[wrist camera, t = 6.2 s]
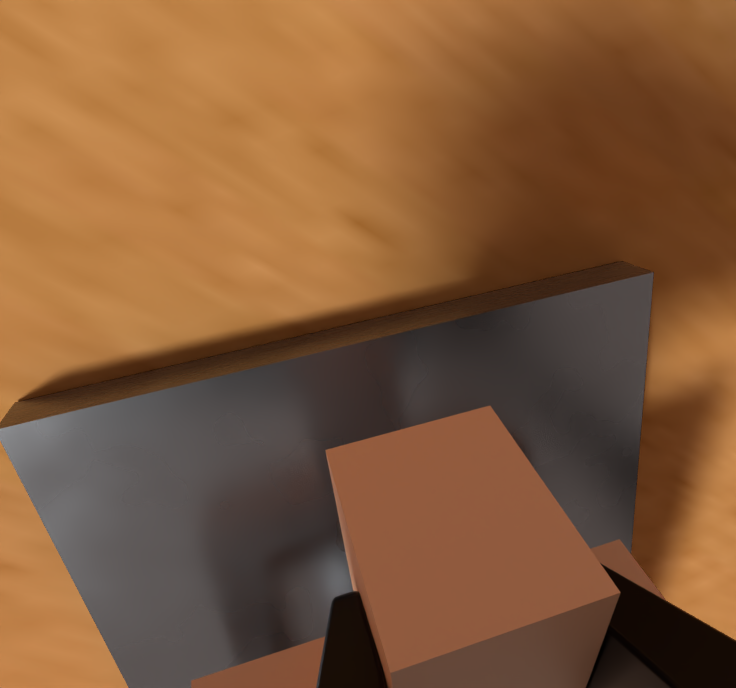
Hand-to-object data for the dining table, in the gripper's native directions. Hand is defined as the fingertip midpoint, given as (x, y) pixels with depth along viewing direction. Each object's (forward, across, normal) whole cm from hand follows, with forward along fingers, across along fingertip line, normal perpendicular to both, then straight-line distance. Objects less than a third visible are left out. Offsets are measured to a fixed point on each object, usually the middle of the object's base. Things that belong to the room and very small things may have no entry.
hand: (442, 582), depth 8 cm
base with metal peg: (+5, 0, +6) cm, 7 cm away
